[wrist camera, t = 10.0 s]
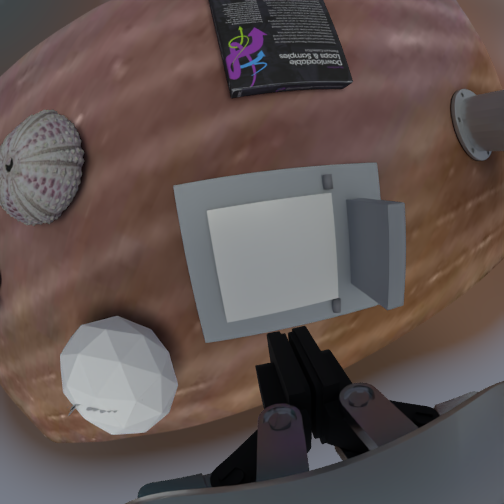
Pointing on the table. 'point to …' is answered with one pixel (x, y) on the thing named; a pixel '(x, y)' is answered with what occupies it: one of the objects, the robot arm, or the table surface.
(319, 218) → the tile
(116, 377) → the geodesic sphere
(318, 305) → the board
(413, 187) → the table surface
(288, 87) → the box
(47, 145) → the sea urchin shell
